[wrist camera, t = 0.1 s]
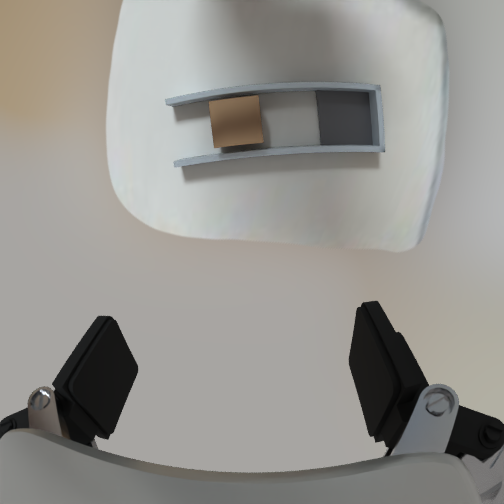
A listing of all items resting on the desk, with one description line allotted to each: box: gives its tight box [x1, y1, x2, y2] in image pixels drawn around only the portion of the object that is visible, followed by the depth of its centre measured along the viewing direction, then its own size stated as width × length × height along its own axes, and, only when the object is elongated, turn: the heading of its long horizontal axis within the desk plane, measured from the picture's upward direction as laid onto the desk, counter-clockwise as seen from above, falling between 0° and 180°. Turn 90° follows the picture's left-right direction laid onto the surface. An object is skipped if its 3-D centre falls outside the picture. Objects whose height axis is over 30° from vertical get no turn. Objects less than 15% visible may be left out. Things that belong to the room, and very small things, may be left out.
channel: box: [165, 82, 385, 167], centre depth 33 cm, size 10×29×3 cm, turn 96°
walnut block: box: [209, 95, 264, 148], centre depth 32 cm, size 6×6×5 cm
